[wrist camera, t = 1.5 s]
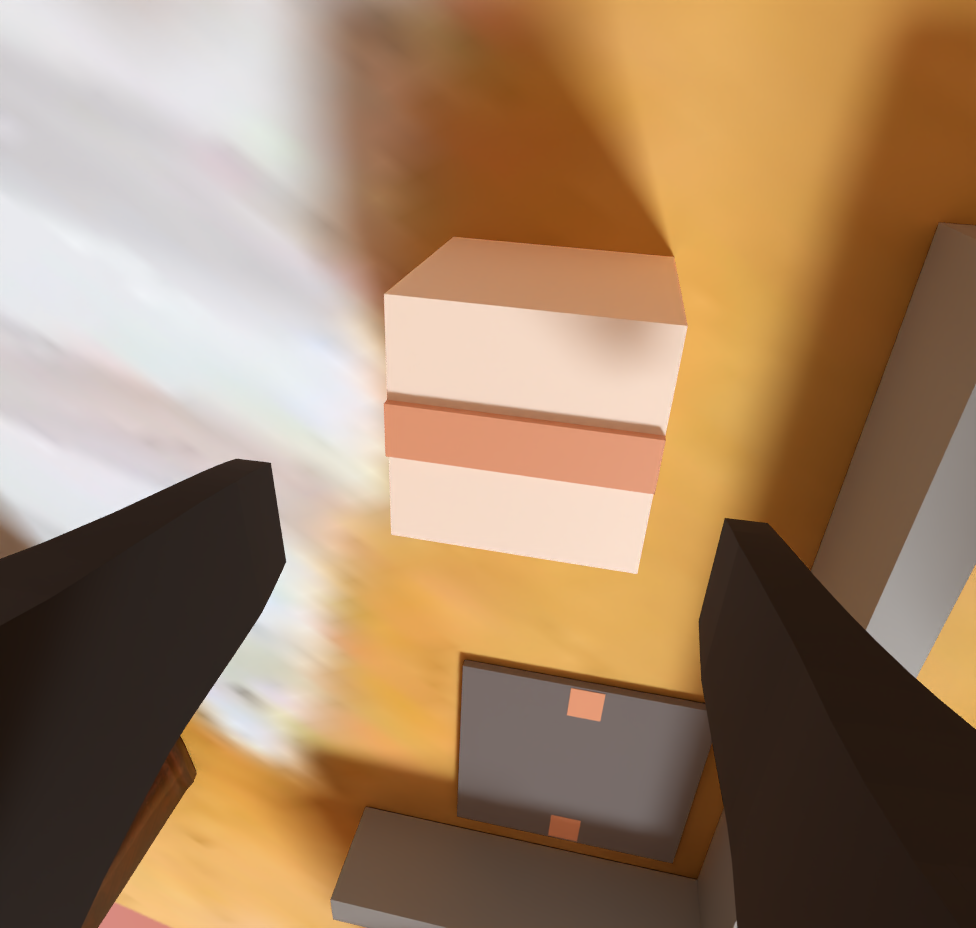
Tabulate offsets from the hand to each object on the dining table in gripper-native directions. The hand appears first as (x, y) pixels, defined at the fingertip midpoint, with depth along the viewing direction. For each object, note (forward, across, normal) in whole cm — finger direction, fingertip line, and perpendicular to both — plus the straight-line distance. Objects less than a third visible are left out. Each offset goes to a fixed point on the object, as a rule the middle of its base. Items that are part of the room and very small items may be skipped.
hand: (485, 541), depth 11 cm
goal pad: (+8, -2, +16) cm, 19 cm away
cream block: (+9, 0, 0) cm, 9 cm away
